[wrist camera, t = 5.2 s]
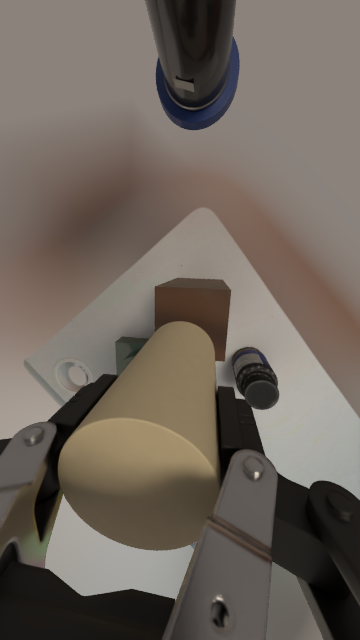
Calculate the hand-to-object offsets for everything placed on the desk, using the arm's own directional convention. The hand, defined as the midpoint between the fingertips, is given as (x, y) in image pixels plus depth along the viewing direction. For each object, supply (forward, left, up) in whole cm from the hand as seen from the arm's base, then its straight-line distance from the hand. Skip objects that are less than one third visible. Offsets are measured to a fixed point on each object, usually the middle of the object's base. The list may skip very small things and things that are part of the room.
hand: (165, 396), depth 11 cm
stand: (0, 0, -29) cm, 29 cm away
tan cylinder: (0, 0, -5) cm, 5 cm away
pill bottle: (+11, +10, -29) cm, 33 cm away
